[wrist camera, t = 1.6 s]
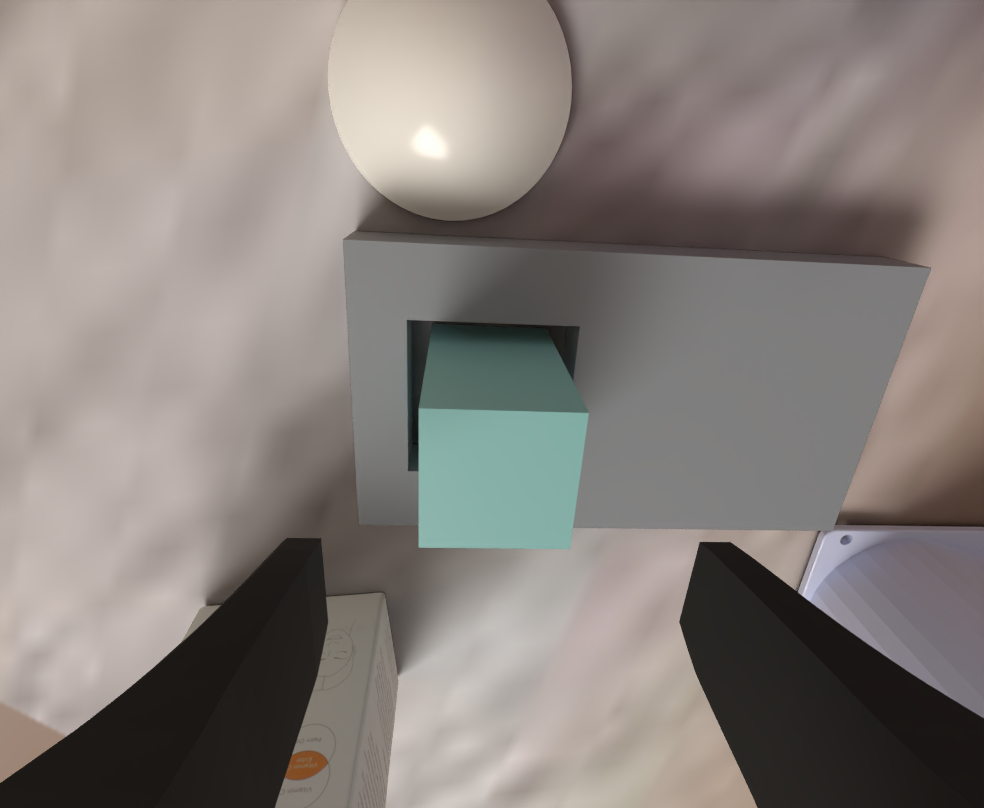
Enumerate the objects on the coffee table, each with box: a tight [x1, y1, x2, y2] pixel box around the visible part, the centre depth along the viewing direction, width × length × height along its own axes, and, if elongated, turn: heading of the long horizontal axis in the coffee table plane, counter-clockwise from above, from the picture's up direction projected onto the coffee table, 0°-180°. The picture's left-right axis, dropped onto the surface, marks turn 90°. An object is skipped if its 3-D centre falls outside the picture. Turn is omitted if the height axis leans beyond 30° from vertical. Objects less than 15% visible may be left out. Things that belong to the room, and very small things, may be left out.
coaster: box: [328, 0, 572, 221], centre depth 16 cm, size 7×7×1 cm
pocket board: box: [343, 231, 931, 531], centre depth 19 cm, size 18×10×2 cm, turn 87°
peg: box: [419, 324, 589, 549], centre depth 17 cm, size 4×4×7 cm
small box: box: [182, 593, 398, 808], centre depth 20 cm, size 8×6×10 cm
